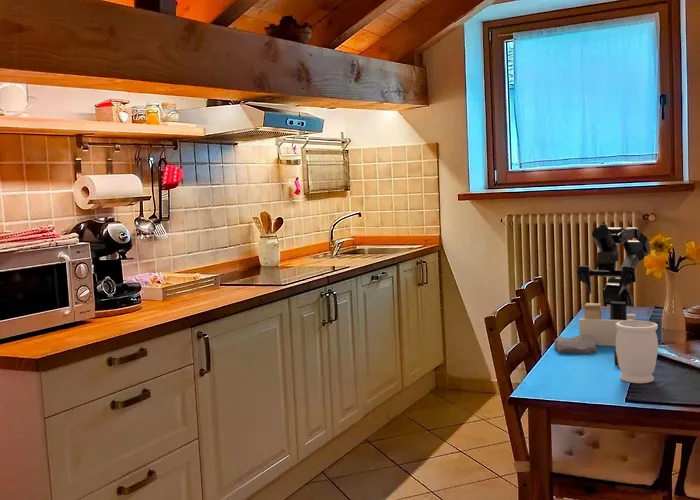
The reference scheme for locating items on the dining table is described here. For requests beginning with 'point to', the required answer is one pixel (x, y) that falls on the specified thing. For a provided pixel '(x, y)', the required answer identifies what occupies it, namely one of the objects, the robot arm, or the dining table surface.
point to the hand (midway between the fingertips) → (604, 294)
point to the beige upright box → (599, 330)
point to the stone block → (575, 344)
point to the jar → (636, 350)
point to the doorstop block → (593, 311)
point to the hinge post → (631, 316)
